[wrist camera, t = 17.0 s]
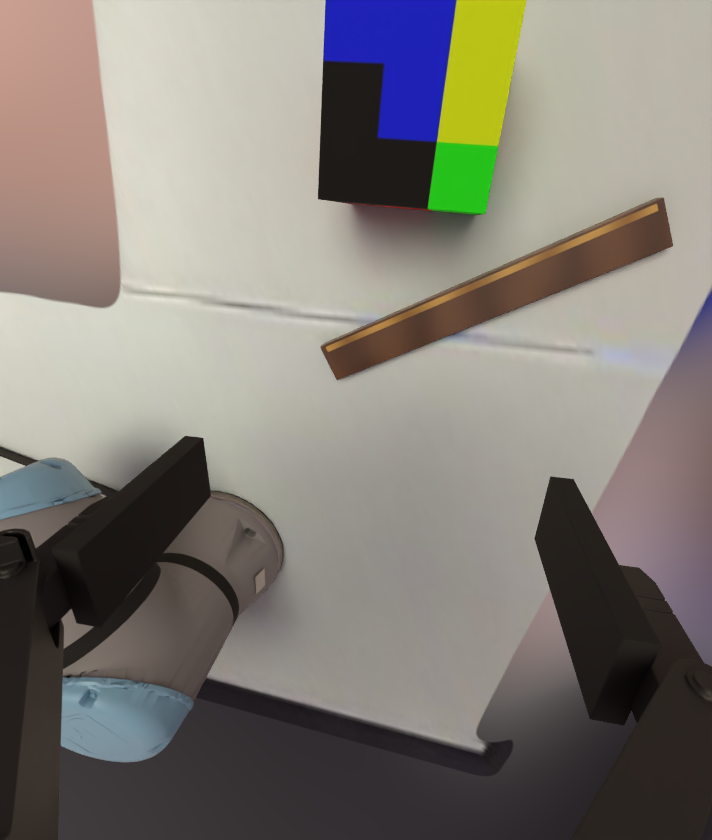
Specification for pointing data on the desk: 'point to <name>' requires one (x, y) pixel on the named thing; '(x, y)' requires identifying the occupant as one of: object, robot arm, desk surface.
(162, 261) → the desk surface
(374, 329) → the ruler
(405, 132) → the puzzle toy
